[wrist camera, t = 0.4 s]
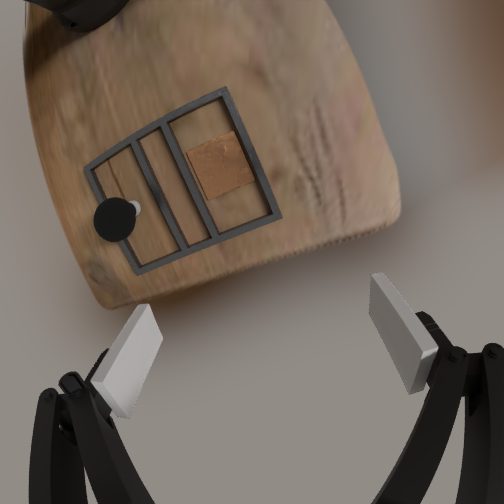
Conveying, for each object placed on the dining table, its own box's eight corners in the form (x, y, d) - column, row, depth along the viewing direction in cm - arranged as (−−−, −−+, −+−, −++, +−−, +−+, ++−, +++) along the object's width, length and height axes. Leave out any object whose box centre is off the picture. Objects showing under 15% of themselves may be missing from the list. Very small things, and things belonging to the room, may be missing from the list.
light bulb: (132, 231, 41) (101, 255, 32) (113, 200, 39) (78, 218, 30) (159, 213, 40) (132, 235, 31) (140, 181, 38) (107, 194, 29)
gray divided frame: (87, 166, 37) (83, 167, 36) (227, 87, 33) (225, 86, 32) (140, 272, 44) (137, 275, 43) (282, 215, 40) (282, 218, 38)
